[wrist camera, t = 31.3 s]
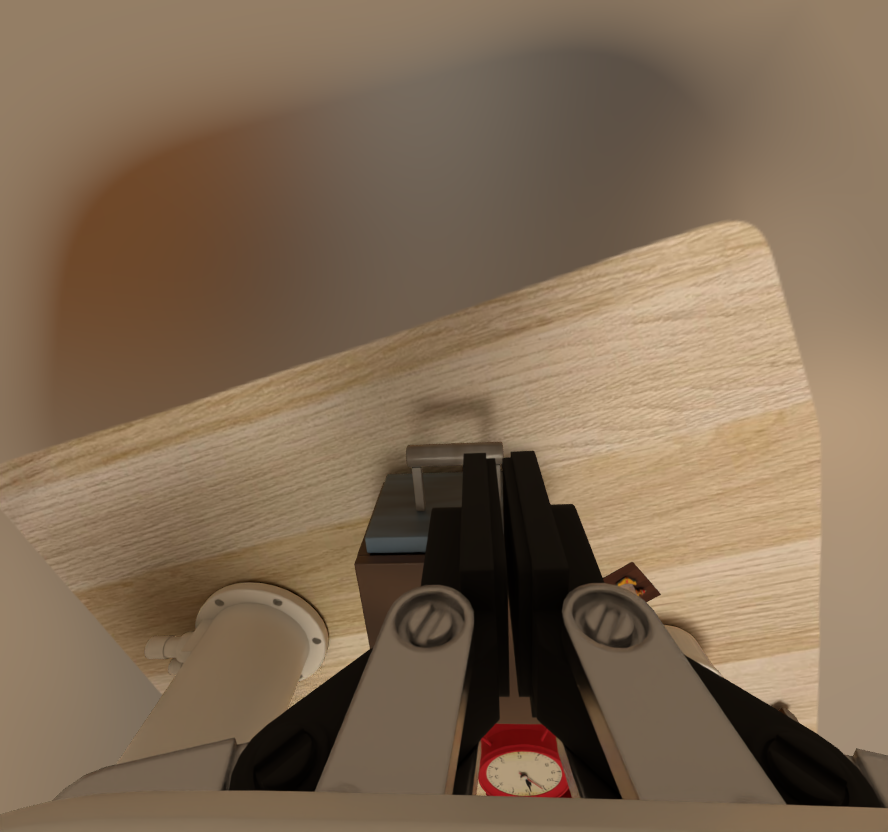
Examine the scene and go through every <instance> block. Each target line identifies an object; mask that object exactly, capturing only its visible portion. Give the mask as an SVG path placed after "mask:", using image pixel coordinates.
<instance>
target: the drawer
mask: <svg viewBox="0 0 888 832" xmlns="http://www.w3.org/2000/svg"><path fill="white" fill-rule="evenodd" d="M464 453H486V459H487V458H495V461H496V470H497V479H498V488H499V497H500V506H501V515H502V525H503V478H502V471H500V464H502V458H504V455H503V443H502V442H478V443H451V444H424V445H408V446H407V449H406V461H407V465H408V467H412V474H388V475H387V477H386V480H385V483H384V485H383V488H382V491H381V494H380V497H379V500H378V502H377V505H376V508H375V511H374V514H373V517H372V519H371V522H370V525H369V528H368V531H367V534H366V536H365V543H366V548H367V553H386V554H385V555H425V552H426V545H427V538H428V531H429V524H430V517H431V511H432V508H440V507H462V483H463V472H445V473H423V472H422V467H430V466H461V465H463V455H464ZM503 534H504V526H503Z"/></svg>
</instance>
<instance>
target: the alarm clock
mask: <svg viewBox="0 0 888 832" xmlns="http://www.w3.org/2000/svg"><path fill="white" fill-rule="evenodd" d="M478 780H479V783H480V785H481V787H482V788H483V790H484V791H485V792H486V795H487V796H513V797H551V798H572V796H571V793H570V789H569V786H568V783H567V780H566V776H565V773H564V770H563V767H562V763H561V760H560V757H559V754H558V748H557V742H556V736H555V735H553V734H552V733H551V732H550V731H549V730H548V729H547V728H546V727H545V726H544V725H542V724H495V725H494V726H493V727H492V728H491V729H490V730H489V732H488V733H487V734H486V735H485V736H484V737H483V738H482V739H481V759H480V767H479V776H478Z"/></svg>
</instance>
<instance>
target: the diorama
mask: <svg viewBox="0 0 888 832" xmlns="http://www.w3.org/2000/svg"><path fill="white" fill-rule="evenodd" d="M603 580H604V583H607V584H612V585H616V586H620V587H622V588H624V589H627V590H629V591H632V592H633V593H635V594H636V595H638V596H639V597H640V598H642V599H643V600H645V602H648V601H650V600H651V599H653V598H655V597H657V596H659V595H661V594H660V593H659V592H658V590H657V589H656V588H655V587H654V586H653V585H652V584H651V582H650V581H649V580H648V579H647V578H646V577H645V576H644V574H643V573H642V572H641V571H640V570H639V569H638V568H637V566H636V565H635V564H634V563H633V562H631V563H630V564H628V565H626V566H624V567H622V568H621V569H619V570H617V571H615V572H614V573H612V574H610V575H608V576H606V577H605V578H603Z"/></svg>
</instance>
